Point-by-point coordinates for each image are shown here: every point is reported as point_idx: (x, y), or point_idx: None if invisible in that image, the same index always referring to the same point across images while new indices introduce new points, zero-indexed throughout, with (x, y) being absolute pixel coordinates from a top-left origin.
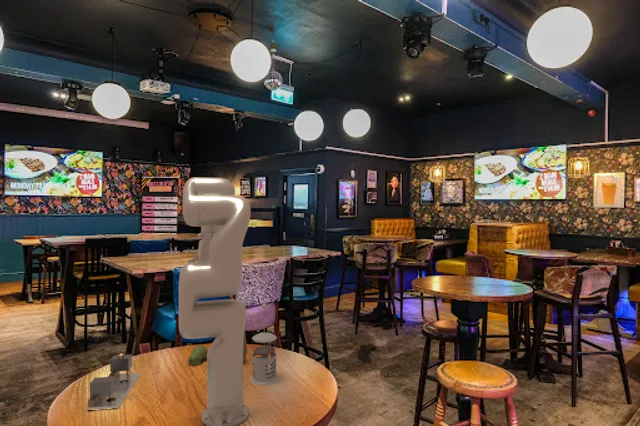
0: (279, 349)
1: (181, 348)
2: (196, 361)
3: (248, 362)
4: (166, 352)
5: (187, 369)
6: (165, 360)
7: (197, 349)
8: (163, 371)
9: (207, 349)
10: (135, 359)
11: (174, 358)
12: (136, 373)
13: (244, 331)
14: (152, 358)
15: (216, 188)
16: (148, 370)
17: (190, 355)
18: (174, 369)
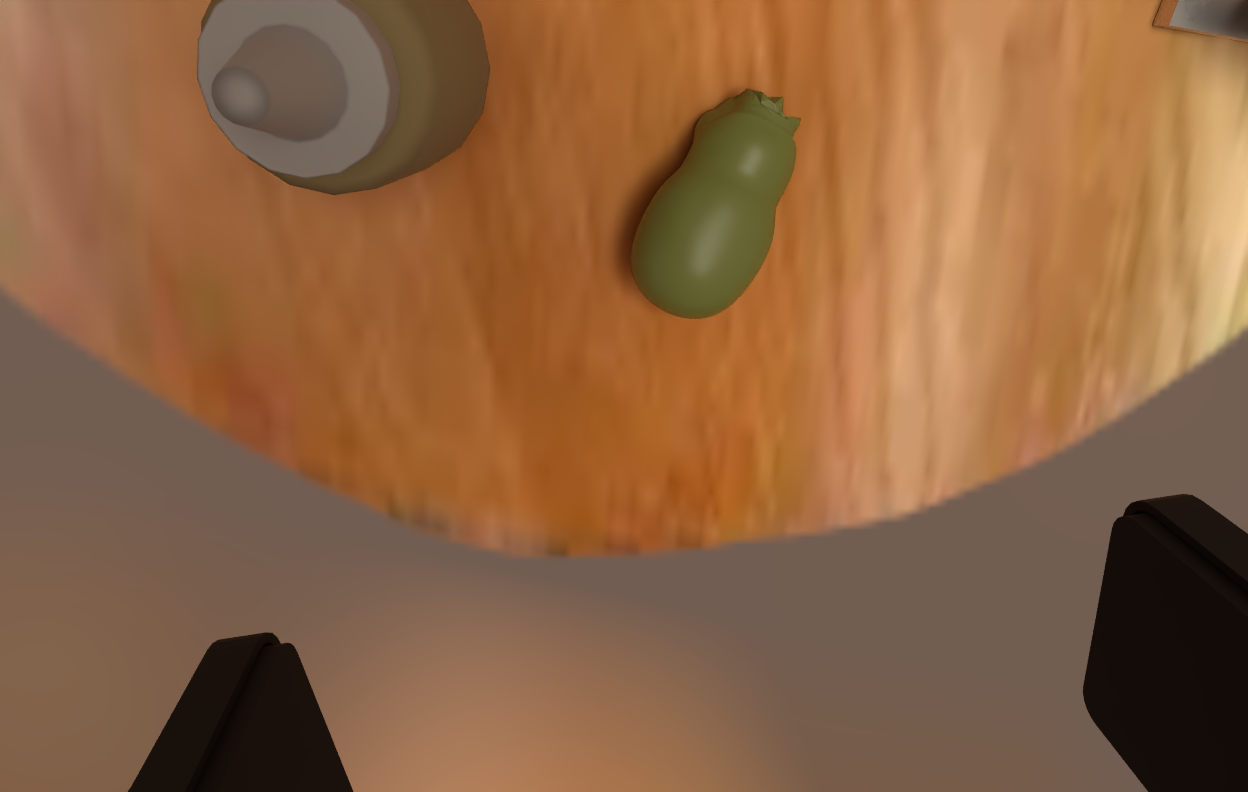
0: (2, 277)
1: (793, 506)
2: (732, 106)
3: None
4: (899, 454)
5: (802, 32)
6: (929, 295)
7: (731, 210)
8: (979, 53)
9: (636, 265)
10: (1108, 376)
11: (864, 318)
12: (1192, 8)
13: (203, 19)
14: (1004, 363)
15: None
16: (1073, 117)
17: (788, 153)
18: (896, 70)
